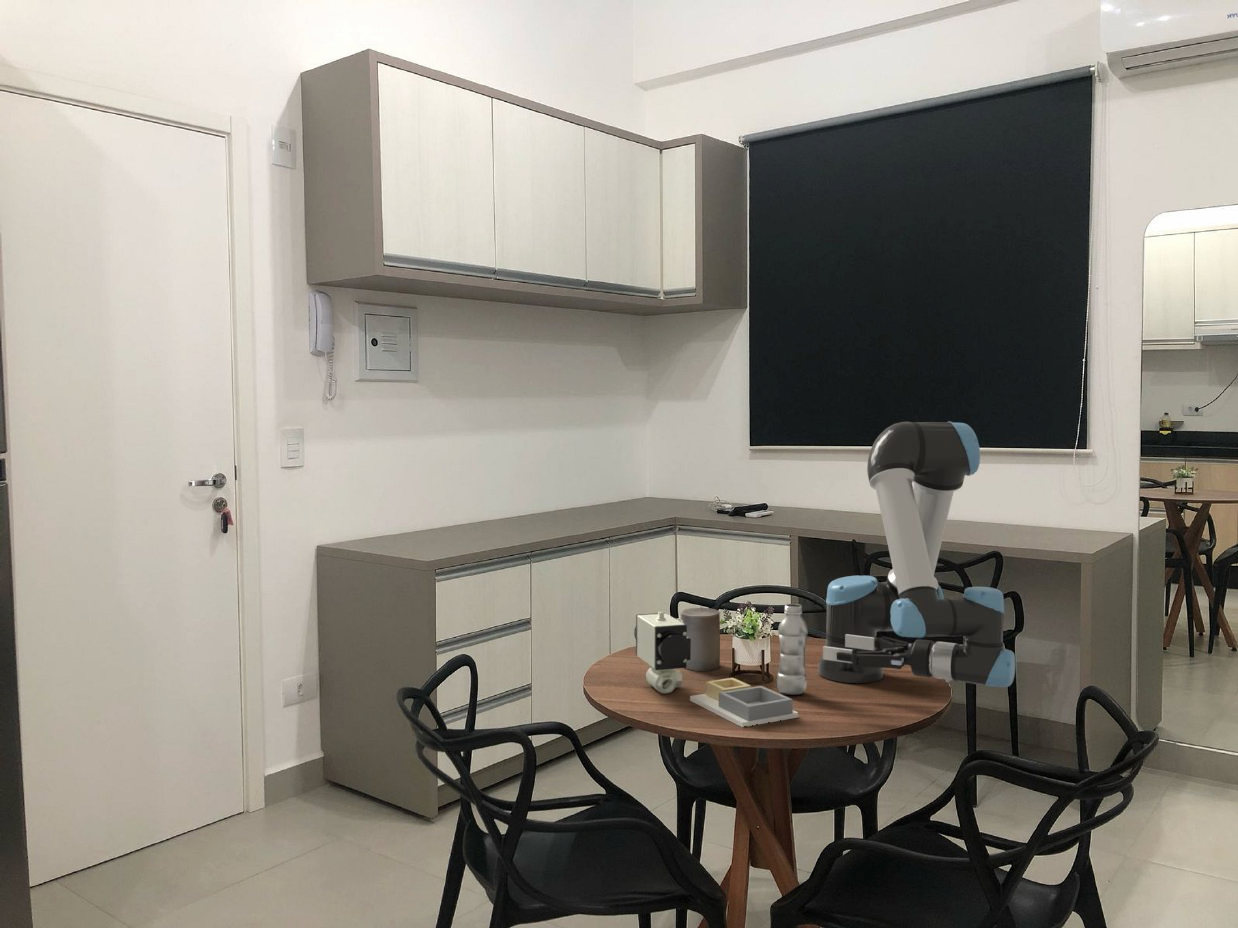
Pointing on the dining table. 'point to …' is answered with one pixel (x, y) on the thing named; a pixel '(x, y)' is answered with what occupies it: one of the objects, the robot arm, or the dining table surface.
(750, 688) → the fitting board
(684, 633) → the ball valve
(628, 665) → the dining table surface
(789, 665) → the plastic bottle
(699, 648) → the pillar candle
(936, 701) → the dining table surface
